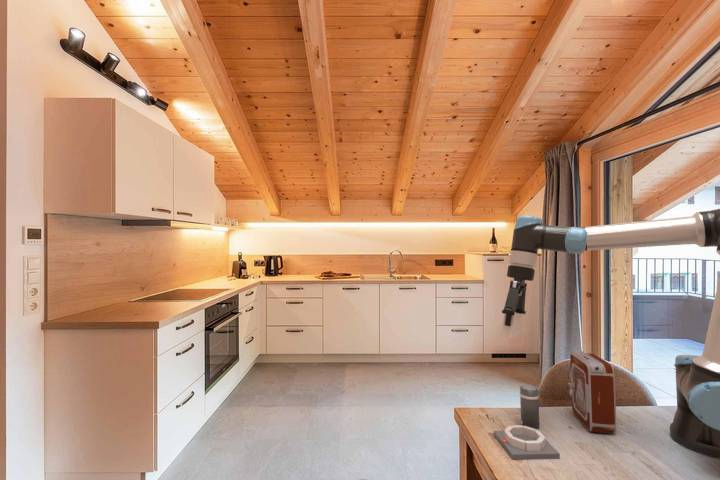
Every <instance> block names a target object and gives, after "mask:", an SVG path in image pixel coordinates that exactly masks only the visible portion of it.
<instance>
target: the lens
mask: <svg viewBox="0 0 720 480" xmlns="http://www.w3.org/2000/svg"><path fill="white" fill-rule="evenodd" d="M519 396H520V401H519V402H520V404H519V405H520V425H523V426H527V427H530V428H534V429H537V430H540V428H539V427H540V401H539V400H540V394H539V388H537V387H535V386H534V385H530V384H523V385H520V387H519Z"/></svg>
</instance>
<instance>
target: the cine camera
mask: <svg viewBox="0 0 720 480" xmlns="http://www.w3.org/2000/svg"><path fill="white" fill-rule="evenodd" d="M569 357H570V358H569V359H570V360H569V361H570V362H569V363H570V364H569V365H570V373H569V380H570V382H567V384H568V387H569V392H568V394H569V396H570V397H571V409H572V410H571V411H572V413H573V415H574V416H575V417H576V418H577V419H578V420H579V421H580V423H581V424H582V425H583V426H584V427H585V428H586V430H587V431H589V432H591V433H602V434H616V432H617V406H616V404H617V398H616V382H615V381H616V379H615V369H614V366H613V364H612V363H609V362H608V361H606V360H605V359H603V358H602V357H600V356H598V355H596V354H594V353H587V352H584V351H582V350H571V351H570V355H569Z"/></svg>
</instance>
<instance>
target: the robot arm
mask: <svg viewBox="0 0 720 480" xmlns="http://www.w3.org/2000/svg"><path fill="white" fill-rule="evenodd" d="M512 230H513V234H512V240H511V241H512V242H511V246H510V247H511V249H510V253H508V255H507V257H509V260H508V263H509V264H510V265H508V266H507V273H506V276H507V278H510V279H512V278H513V280H510V281H509V282H510V283H509V288H508V292H507V295H506V300H505V304H504V307H503V309H502V310H501V314H504V316H503V321H502V322H503V323H502V328H501V335H500V336H501V337H504V338H506V339H507V338H508V339H512V336H513V334H515V335H518V336H520V334H521V328H522V322H523V315H526V313H527V311H526V307H525V306H526V295H527V293H526V292H527V286H528V283H526V281H529V282H532V281H534V277H535V272H536V270H535V269H534V268H536V266H537V260H538V256H539V255H538V254H539V253H538V252H539V250H543V251H545V250H546V251H553V252H560V253H568V254H569V255H570V254H577V255H582V254H584V253H585V251H602V250H617V249H629V248H630V249H632V248H650V247H665V246H681V245H697V246H698V247H700V248H709V247H713V248H714V247H716V250H715V251H716V253H717V254H718V255H719V256H720V208H716V209H712V210H707V211H706V210H705V211H697V212H695V213H694V214H693V215H691V216H681V217H673V218H672V217H671V218H664V219H662V218H661V219H651V220H643V221H641V220H640V221H632V222H621V223H613V224H601V225H592V226H590V225H589V226H583V227H581V226H579V227H577V226H564V225H562V226H561V225H550V224H544V223H543V219H542V218H541V217H539V216H532V215H521V216H517V218H516V220H515V224H514V229H512ZM674 367H675V387H676V388H675V389H676V410H675V413H674V416H673V420H672V422H671V423H670V426H669V435H670V438H671V439H672V440H673V441H675V442H676V443H677V444H679V445H680V446H681V447H685V448H687V449H689V450H691V451H694V452H696V453H699V454H703V455H705V456H709V457H713V458H718V459H720V276H719V279H718V283H717V287H716V293H715V296H714V301H713V305H712V309H711V314H710V320H709V322H708V328H707V332H706V336H705V340H704V346H703V351H702V353H701V355H693V354H691V355H690V354H679V355H676V357H675V362H674Z"/></svg>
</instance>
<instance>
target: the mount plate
mask: <svg viewBox="0 0 720 480" xmlns="http://www.w3.org/2000/svg"><path fill="white" fill-rule="evenodd" d="M493 436H494V437H495V439H496V440H497V441H498V442H499V444H500V445H501V446H502V447H503V449H504V450H505V452H506V453H507V454H508V455H509V457H510V458H511V460H542V459H543V460H544V459H546V460H547V459H550V460H551V459H552V460H553V459H555V460H556V459H560V457H561V455H560V452H559V451H558V450H556V448H555V447H554V446H553V445H551V444H550V443H549V441H547V440H546V436H545V435H544V434H543V433H542V432H541V431H540V429H534V428H530V427H527V426H523V425H521V424H519V425H518V424H517V425H516V424H513V425H508V427H506V428H504V429H503V430H493Z"/></svg>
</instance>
